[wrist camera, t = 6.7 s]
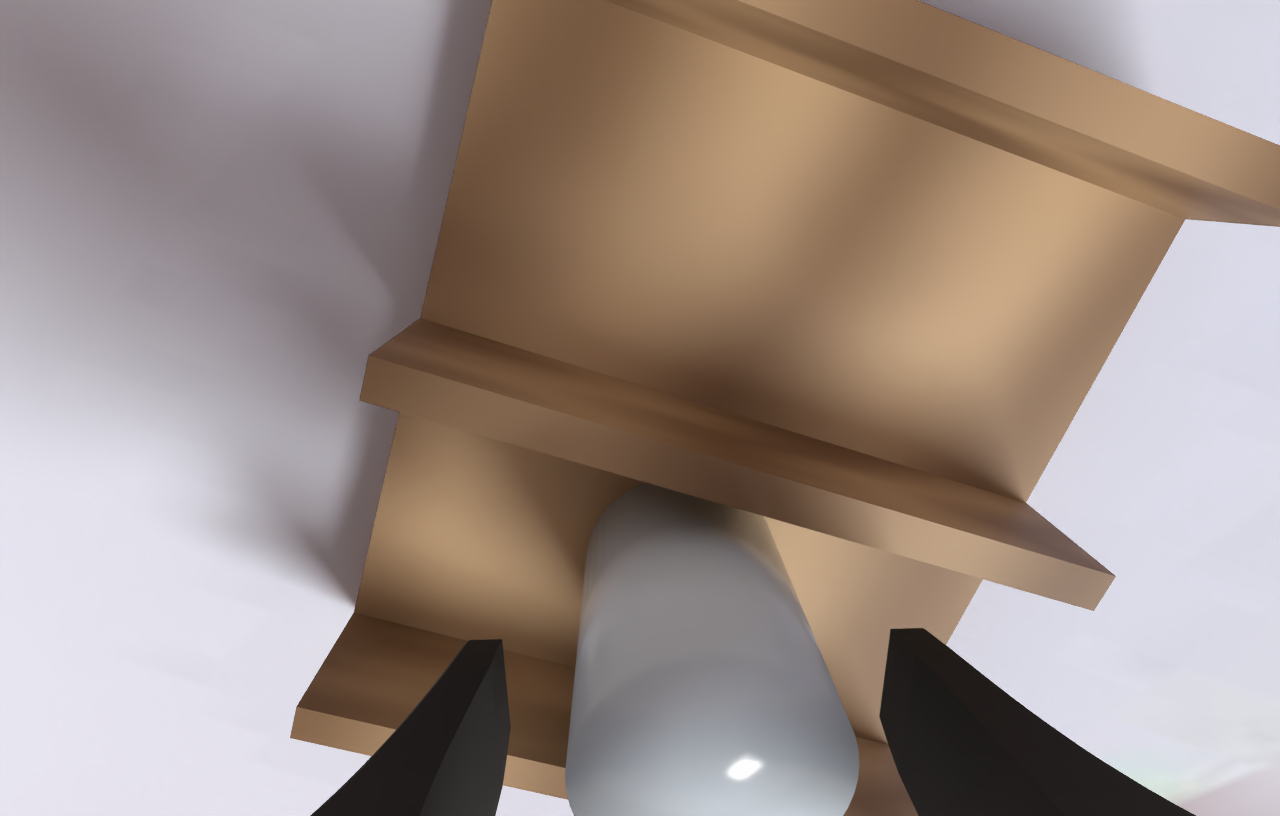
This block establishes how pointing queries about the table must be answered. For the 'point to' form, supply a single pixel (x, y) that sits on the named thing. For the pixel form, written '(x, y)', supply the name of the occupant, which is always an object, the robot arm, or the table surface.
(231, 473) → the table surface
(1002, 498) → the rack
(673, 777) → the cylinder
